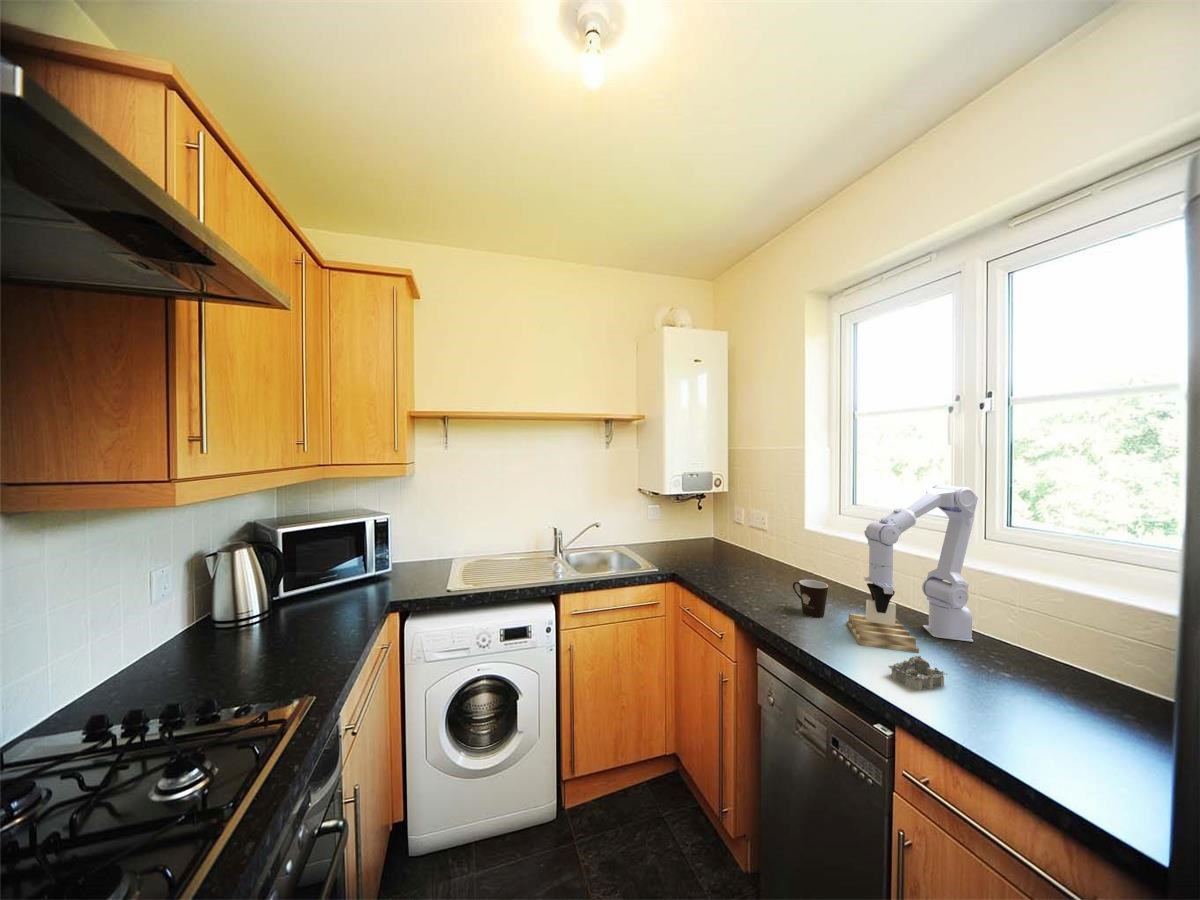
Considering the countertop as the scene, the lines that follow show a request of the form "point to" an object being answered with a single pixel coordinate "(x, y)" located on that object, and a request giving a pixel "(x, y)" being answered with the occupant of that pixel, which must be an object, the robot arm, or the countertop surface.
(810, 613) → the coffee mug
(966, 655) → the countertop surface
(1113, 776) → the countertop surface
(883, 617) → the white block
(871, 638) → the dish rack
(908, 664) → the ruined castle model
